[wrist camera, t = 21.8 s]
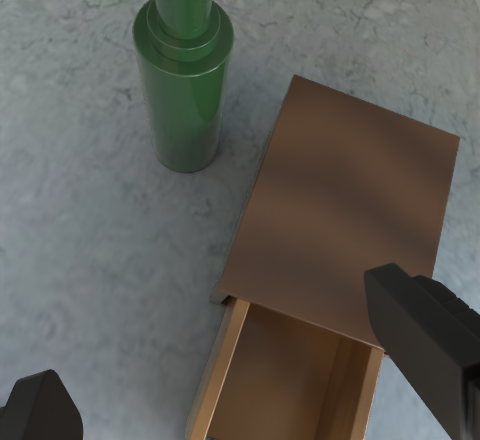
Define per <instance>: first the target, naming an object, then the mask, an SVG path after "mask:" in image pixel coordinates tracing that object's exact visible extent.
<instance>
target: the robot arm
mask: <svg viewBox="0 0 480 440" xmlns="http://www.w3.org/2000/svg"><path fill="white" fill-rule="evenodd" d="M364 285H365V292H366V300H367V307H368V315H369V320H370V324H371V327H372V330H373V332H374V335H375V337H376V338H377V340H378V342H379V343H380V344H381V346H382V347H383V348H384V350H385V351H386V352H387V354H388V355H389V356H390V358H391V359H392V360H393V362H394V363H395V364H396V366H397V367H398V368H399V370H400V371H401V372H402V374H403V375H404V376H405V378H406V379H407V380H408V382H409V383H410V384H411V386H412V387H413V388H414V390H415V391H416V392H417V394H418V395H419V396H420V398H421V399H422V400H423V402H424V403H425V404H426V406H427V407H428V408H429V410H430V411H431V412H432V414H433V415H434V416H435V418H436V419H437V420H438V422H439V423H440V424H441V426H442V427H443V428H444V430H445V431H446V432H447V434H448V435H449V436H450V438H451V439H452V440H480V315H479V314H478V313H477V312H476V311H474V310H473V309H470V308H469V306H468V305H467V304H466V303H465V302H463V301H462V300H461V299H460V298H457V297H456V295H455V294H454V293H453V292H451V291H450V290H449V289H448V288H447V287H445V286H444V285H443V284H442V283H440V282H438V281H435V280H433V279H430V278H428V277H425V276H423V275H417V276H414V277H411V276H409V275H408V274H407V273H406V272H405V271H404V270H403V269H402V268H401V267H399V266H398V265H397V264H396V263H394V262H391V263H388V264H385V265H382V266H379V267H376V268H372V269H369V270H366V271H365V272H364ZM0 440H83V424H82V419H81V416H80V413H79V411H78V409H77V407H76V406H75V404H74V402H73V400H72V399H71V397H70V395H69V393H68V392H67V390H66V388H65V386H64V385H63V383H62V381H61V379H60V378H59V376H58V374H57V373H56V372H55V371H54V370H52V369H49V370H46V371H43V372H40V373H37V374H34V375H30V376H27V377H24V378H21V379H19V380H17V381H16V383H15V385H14V387H13V389H12V392H11V394H10V396H9V399H8V401H7V403H6V406H4V407H1V408H0Z"/></svg>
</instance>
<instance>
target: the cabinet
mask: <svg viewBox="0 0 480 440" xmlns="http://www.w3.org/2000/svg"><path fill="white" fill-rule="evenodd" d="M459 141H460V137H458V136H456V135H453V134H451V133H448V132H445V131H443V130H440V129H437V128H435V127H432V126H430V125H427V124H424V123H422V122H419V121H416V120H414V119H411V118H408V117H406V116H403V115H401V114H398V113H395V112H393V111H390V110H387V109H385V108H382V107H379V106H377V105H374V104H372V103H369V102H366V101H364V100H361V99H358V98H356V97H353V96H350V95H348V94H345V93H343V92H340V91H337V90H335V89H332V88H329V87H327V86H324V85H321V84H319V83H316V82H314V81H311V80H308V79H306V78H303V77H300V76H298V75H293V77H292V80H291V82H290V85H289V87H288V90H287V92H286V94H285V97H284V99H283V102H282V104H281V107H280V109H279V111H278V114H277V116H276V119H275V121H274V124H273V126H272V128H271V131H270V133H269V136H268V139H267V141H266V144H265V147H264V150H263V152H262V155H261V158H260V161H259V164H258V166H257V169H256V172H255V175H254V177H253V180H252V183H251V186H250V188H249V191H248V194H247V197H246V199H245V202H244V205H243V208H242V211H241V213H240V216H239V219H238V222H237V224H236V227H235V230H234V233H233V235H232V238H231V241H230V244H229V246H228V249H227V252H226V255H225V257H224V260H223V263H222V266H221V269H220V271H219V274H218V277H217V280H216V282H215V285H214V288H213V291H212V293H211V296H210V299H209V301H210V302H213V303H216V304H218V305H221V306H224V307H227V304H228V301H229V298H230V296H233V297H235V298H238V299H241V300H244V301H246V302H249V303H252V304H255V305H257V306H260V307H263V308H266V309H268V310H271V311H274V312H277V313H279V314H282V315H285V316H288V317H290V318H293V319H296V320H299V321H301V322H304V323H307V324H310V325H312V326H315V327H318V328H321V329H323V330H326V331H329V332H332V333H334V334H337V335H340V336H343V337H345V338H348V339H351V340H354V341H356V342H359V343H362V344H365V345H367V346H370V347H373V348H376V349H378V350H381V351H384V353H383V357H385V358H390V356H389V355H388V354H387V352H386V351H385V350H384V348H383V347H382V346H381V344H380V343H379V342H378V340H377V338H376V337H375V335H374V332H373V330H372V327H371V324H370V320H369V315H368V307H367V300H366V292H365V285H364V272H365V271H366V270H369V269H372V268H376V267H379V266H382V265H385V264H388V263H391V262H394V263H396V264H397V265H398V266H399V267H401V268H402V269H403V270H404V271H405V272H406V273H407V274H408V275H409V276H411V277H414V276H417V275H423V276H425V277H428V278H430V279H432V274H433V269H434V265H435V260H436V255H437V250H438V245H439V240H440V235H441V230H442V225H443V220H444V215H445V210H446V205H447V200H448V195H449V191H450V186H451V181H452V176H453V171H454V166H455V161H456V156H457V151H458V146H459Z"/></svg>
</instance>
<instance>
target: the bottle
mask: <svg viewBox="0 0 480 440" xmlns="http://www.w3.org/2000/svg"><path fill="white" fill-rule="evenodd" d="M132 32H133V41H134V46H135V52H136V57H137V62H138V68H139V73H140V79H141V84H142V90H143V95H144V101H145V106H146V112H147V117H148V123H149V128H150V133H151V139H152V144H153V149H154V152H155V155H156V157H157V158H158V160H159V161H160V162H161V163H162V164H163V165H164V166H166V167H167V168H169V169H171V170H173V171H176V172H181V173H190V172H195V171H198V170H200V169H202V168H204V167H206V166H207V165H208V164H209V163H210V162H211V161H212V159H213V158H214V156H215V154H216V150H217V144H218V138H219V132H220V126H221V119H222V113H223V107H224V101H225V94H226V88H227V82H228V76H229V69H230V63H231V57H232V51H233V44H234V30H233V26H232V23H231V21H230V19H229V17H228V16H227V14H226V13H225V11H224V10H223V9H222V8H221V7H220V6H219V5H218V4H217V3H215V2H214V1H212V0H149V1H148V2H147V3H146V4H144V5H143V7H142V8H141V9H140V10H139V12H138V13H137V15H136V18H135V20H134V24H133V31H132Z"/></svg>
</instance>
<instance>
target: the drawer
mask: <svg viewBox="0 0 480 440" xmlns="http://www.w3.org/2000/svg"><path fill="white" fill-rule="evenodd" d="M383 353H384V351H381V350H378V349H376V348H373V347H370V346H367V345H365V344H362V343H359V342H356V341H354V340H351V339H348V338H345V337H343V336H340V335H337V334H334V333H332V332H329V331H326V330H323V329H321V328H318V327H315V326H312V325H310V324H307V323H304V322H301V321H299V320H296V319H293V318H290V317H288V316H285V315H282V314H279V313H277V312H274V311H271V310H268V309H266V308H263V307H260V306H257V305H255V304H252V303H249V302H246V301H244V300H241V299H238V298H235V297H233V296H230V298H229V301H228V304H227V307H226V310H225V313H224V315H223V318H222V321H221V324H220V327H219V330H218V333H217V336H216V338H215V341H214V344H213V347H212V350H211V353H210V356H209V359H208V361H207V364H206V367H205V370H204V373H203V376H202V379H201V382H200V384H199V387H198V390H197V393H196V396H195V399H194V402H193V405H192V408H191V410H190V413H189V416H188V419H187V422H186V425H185V440H205V438H206V436H207V437H210V438H213V439H216V440H364V438H365V433H366V429H367V424H368V420H369V415H370V411H371V407H372V402H373V398H374V393H375V389H376V384H377V380H378V376H379V371H380V367H381V362H382V358H383Z"/></svg>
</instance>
